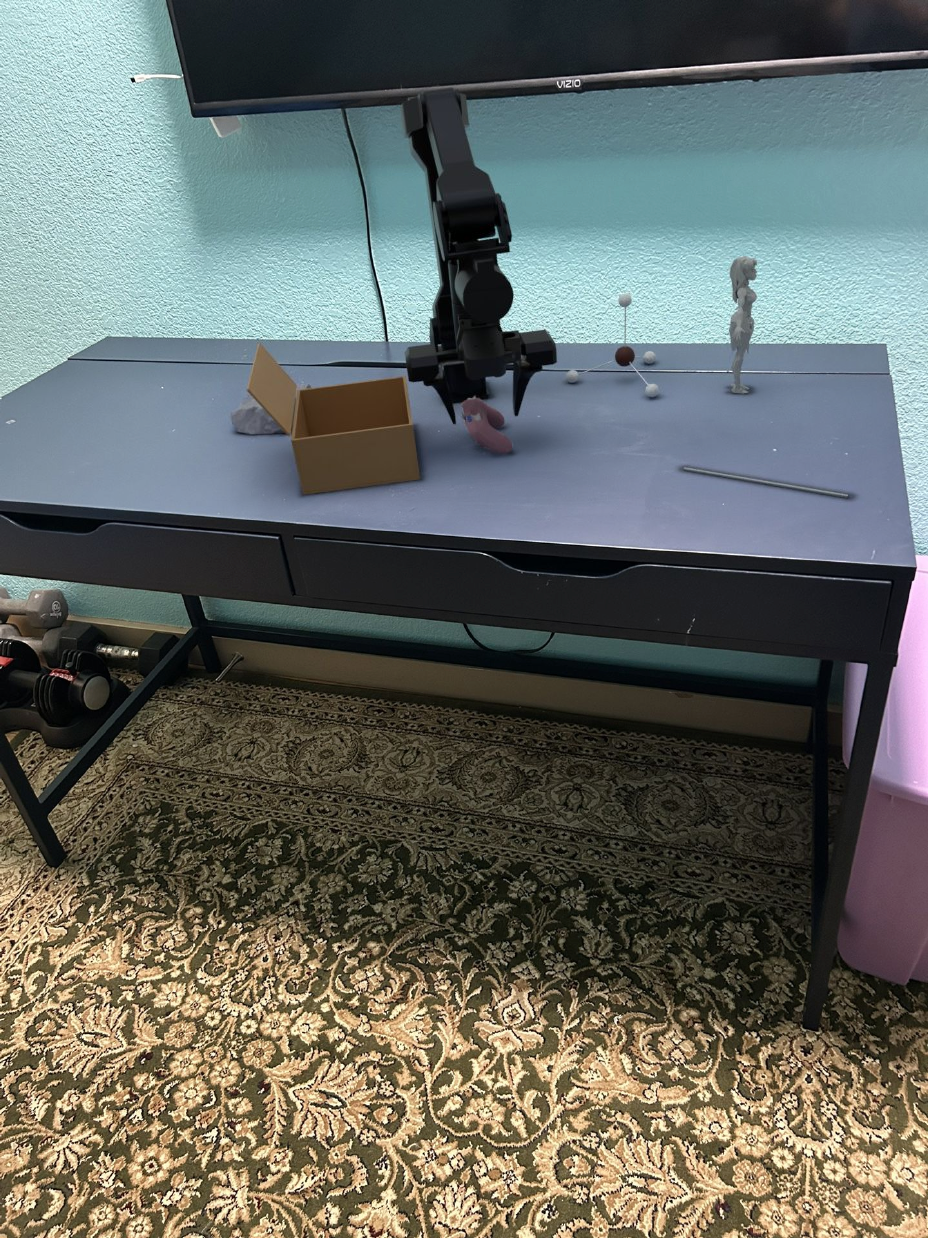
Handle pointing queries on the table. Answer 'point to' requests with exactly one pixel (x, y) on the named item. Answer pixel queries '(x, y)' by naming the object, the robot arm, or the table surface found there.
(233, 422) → the stone block
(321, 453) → the carton
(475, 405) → the video game controller
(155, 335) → the table surface
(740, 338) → the human figurine
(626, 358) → the molecular model
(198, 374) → the table surface
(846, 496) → the rod
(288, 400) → the flap
